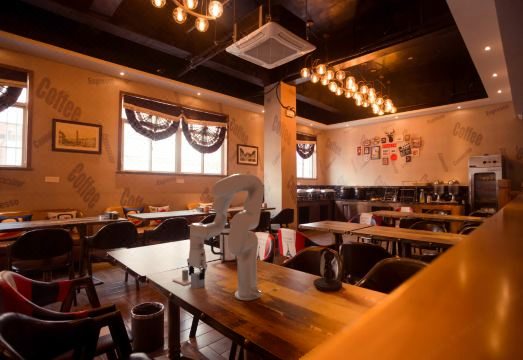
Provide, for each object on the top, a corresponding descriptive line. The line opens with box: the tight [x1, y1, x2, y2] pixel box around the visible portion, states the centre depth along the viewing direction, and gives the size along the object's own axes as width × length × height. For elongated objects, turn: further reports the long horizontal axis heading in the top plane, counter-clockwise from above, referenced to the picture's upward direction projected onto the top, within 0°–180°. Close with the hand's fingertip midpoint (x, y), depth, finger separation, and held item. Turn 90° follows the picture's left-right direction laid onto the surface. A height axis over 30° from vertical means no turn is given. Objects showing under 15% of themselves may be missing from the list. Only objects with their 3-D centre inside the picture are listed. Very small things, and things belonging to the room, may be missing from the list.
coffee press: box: [210, 218, 238, 264], centre depth 202 cm, size 17×16×30 cm
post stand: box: [172, 269, 191, 286], centre depth 161 cm, size 12×9×6 cm
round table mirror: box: [313, 247, 343, 292], centre depth 148 cm, size 15×15×20 cm
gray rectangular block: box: [190, 271, 206, 289], centre depth 153 cm, size 5×5×7 cm
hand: (196, 277), depth 153 cm, fingers open, 9 cm apart
